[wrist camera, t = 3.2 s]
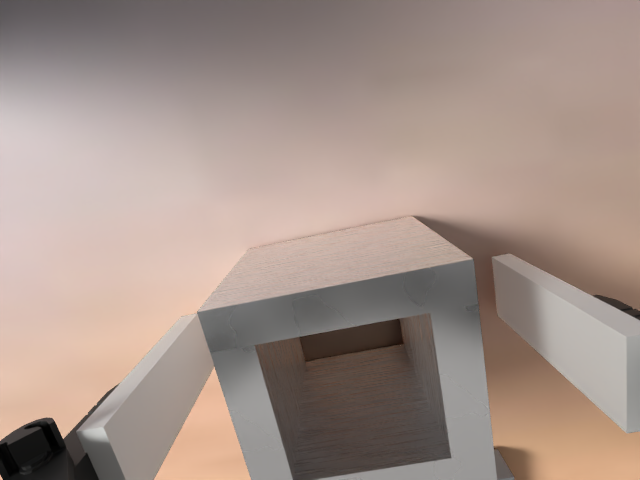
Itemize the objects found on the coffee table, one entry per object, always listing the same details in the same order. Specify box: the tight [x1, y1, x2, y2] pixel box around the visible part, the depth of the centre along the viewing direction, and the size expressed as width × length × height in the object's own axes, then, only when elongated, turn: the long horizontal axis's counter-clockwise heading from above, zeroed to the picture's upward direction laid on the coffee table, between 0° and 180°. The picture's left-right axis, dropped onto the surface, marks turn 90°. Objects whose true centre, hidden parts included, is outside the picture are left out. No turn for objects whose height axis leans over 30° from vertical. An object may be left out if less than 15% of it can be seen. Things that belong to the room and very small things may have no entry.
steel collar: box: [197, 216, 497, 480], centre depth 12 cm, size 7×7×6 cm
